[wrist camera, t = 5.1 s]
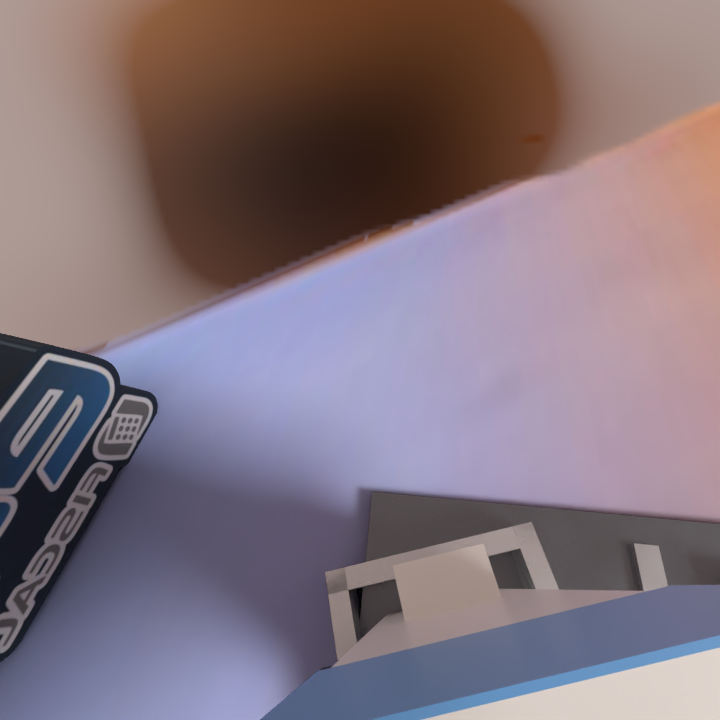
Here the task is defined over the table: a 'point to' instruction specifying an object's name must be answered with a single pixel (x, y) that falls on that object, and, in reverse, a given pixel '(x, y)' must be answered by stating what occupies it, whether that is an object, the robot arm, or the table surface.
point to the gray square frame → (378, 571)
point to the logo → (55, 464)
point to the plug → (522, 653)
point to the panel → (544, 546)
